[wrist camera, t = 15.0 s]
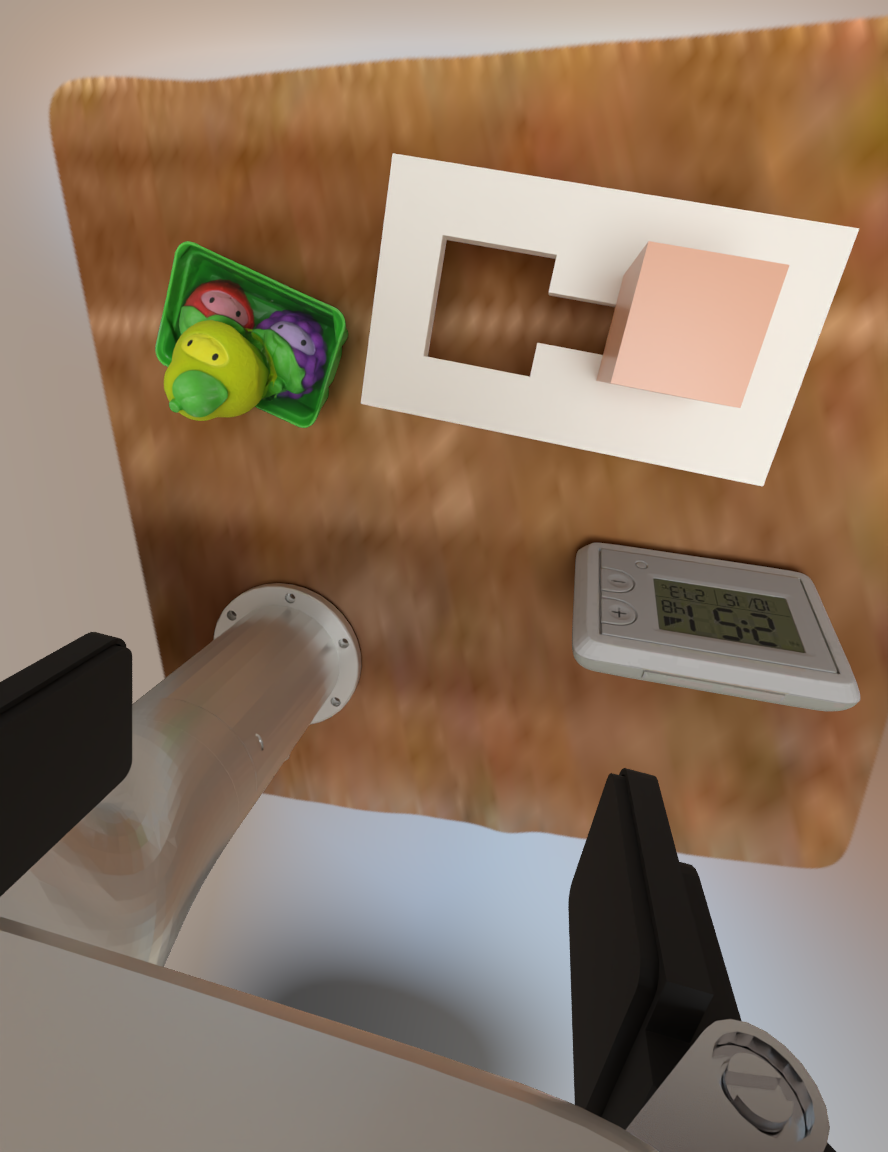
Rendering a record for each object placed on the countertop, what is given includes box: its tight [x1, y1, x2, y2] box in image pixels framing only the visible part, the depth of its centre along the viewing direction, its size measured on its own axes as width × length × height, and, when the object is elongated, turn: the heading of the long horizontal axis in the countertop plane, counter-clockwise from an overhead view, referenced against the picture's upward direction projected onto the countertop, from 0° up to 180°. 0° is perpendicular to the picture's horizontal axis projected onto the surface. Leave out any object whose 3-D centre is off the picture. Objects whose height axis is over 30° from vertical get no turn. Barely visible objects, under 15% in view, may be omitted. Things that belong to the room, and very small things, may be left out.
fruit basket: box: [155, 241, 348, 428], centre depth 37 cm, size 11×9×11 cm
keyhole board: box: [361, 153, 859, 486], centre depth 34 cm, size 12×22×9 cm, turn 80°
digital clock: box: [572, 543, 860, 711], centre depth 38 cm, size 16×9×11 cm, turn 73°
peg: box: [596, 241, 789, 408], centre depth 27 cm, size 5×5×11 cm
